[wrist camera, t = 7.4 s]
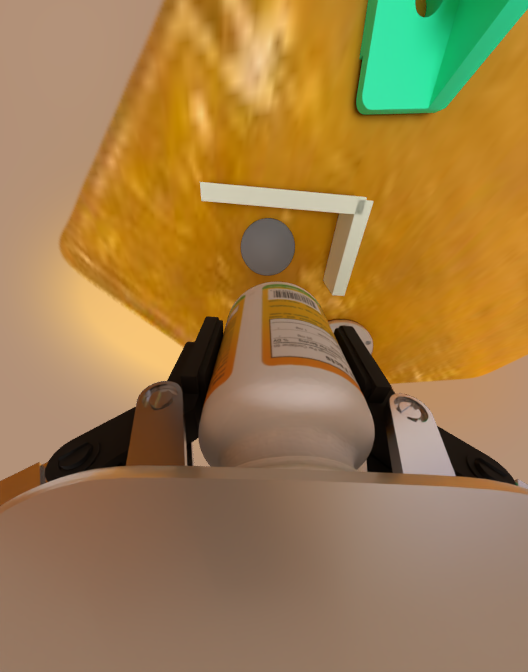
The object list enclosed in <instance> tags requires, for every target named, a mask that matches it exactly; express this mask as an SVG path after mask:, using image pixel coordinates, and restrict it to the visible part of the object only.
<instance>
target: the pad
mask: <svg viewBox="0 0 528 672" xmlns="http://www.w3.org/2000/svg"><path fill="white" fill-rule="evenodd" d="M294 251H295V243H294V238H293V235H292V233H291V231H290V230H289V228H288V227H287V226H286V225H285V224H284V223H282V222H280V221H278V220H276V219H271V218H265V219H260V220H258V221H256V222H254V223H252V224H251V225H250V226H249V227H248V228H247V230H246V231H245V233H244V235H243V238H242V241H241V253H242V257H243V259H244V261H245V263H246V265H247V266H248V267H249V268H250V269H251V270H252V271H254V272H256V273H258V274H261V275H274V274H277V273H279V272H281V271H283V270H284V269H285V268H286V267H287V266H288V265H289V264H290V262H291V260H292V258H293V255H294Z"/></svg>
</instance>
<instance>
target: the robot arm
mask: <svg viewBox="0 0 528 672" xmlns="http://www.w3.org/2000/svg"><path fill="white" fill-rule="evenodd" d="M328 323H329V325H330V327H331V330H332V332H333V334H334V336H335V338H336V340H337V342H338V344H339V346H340V348H341V350H342V352H343V354H344V356H345V359H346V361H347V363H348V365H349V367H350V369H351V371H352V373H353V375H354V377H355V379H356V381H357V383H358V385H359V387H360V390H361V392H362V394H363V396H364V398H365V400H366V403H367V405H368V407H369V410H370V412H371V415H372V418H373V422H374V429H375V437H374V442H373V447H372V450H371V452H370V454H369V456H368V457H367V459H366V460H365V462H364V463H363V464H362V465H361V466H360V467H359V468H358V469H357V470H358V471H359V472H354V471H326V470H298V469H270V468H238V467H203V466H194V458H193V444H192V442H193V441H194V440H196V439H197V438H198V432H199V423H200V419H201V415H202V410H203V406H204V402H205V398H206V395H207V391H208V387H209V384H210V380H211V377H212V374H213V370H214V366H215V363H216V359H217V356H218V352H219V349H220V346H221V342H222V338H223V321H222V320H219V318H218V317H206V318H205V320H204V323H203V325H202V327H201V329H200V332H199V334H198V336H197V338H196V341H195V342H187V343H186V344H185V346H184V348H183V351H182V352H181V354H180V356H179V358H178V360H177V362H176V364H175V367H174V368H173V370H172V372H171V374H170V376H169V379H168V380H167V381H161V382H157V383H154V384H152V385H150V386H148V387H147V388H146V389H144V390H143V391H142V392H141V394H140V395H139V397H138V399H137V404H136V407H134V408H132V409H130V410H128V411H126V412H125V413H123V414H121V415H119V416H117V417H115V418H113V419H111V420H109V421H107V422H106V423H103V424H102V425H100V426H98V427H96V428H94V429H92V430H90V431H89V432H86V433H84V434H83V435H81V436H79V437H77V438H75V439H73V440H71V441H70V442H68V443H66V444H65V445H63V446H62V447H61V448H60V449H59V450H58V451H57V452H55V453H54V455H53V456H52V457H51V459H50V460H49V461H48V462H47V463H45V464H43V465H42V464H41V463H40V462H38V463H36V464H34V465H32V466H30V467H28V468H26V469H24V470H22V471H20V472H18V473H16V474H14V475H12V476H10V477H8V478H5V479H3V480H1V481H0V672H528V485H527V484H526V483H524V482H522V481H520V480H519V479H517V480H515V481H514V479H513V478H512V476H511V475H510V474H509V473H508V472H507V471H506V469H505V468H503V467H502V466H501V465H500V464H499V463H498V462H496V461H495V460H493V459H492V458H490V457H489V456H487V455H486V454H484V453H482V452H481V451H479V450H477V449H475V448H474V447H472V446H470V445H469V444H467V443H465V442H464V441H462V440H460V439H458V438H457V437H455V436H453V435H452V434H450V433H448V432H446V431H445V430H443V429H442V428H440V427H438V426H437V425H436V422H435V420H434V417H433V415H432V413H431V411H430V410H429V409H428V407H427V406H426V405H425V404H423V403H422V402H421V401H420V400H418V399H416V398H414V397H412V396H410V395H407V394H402V393H399V394H396V393H395V392H394V390H393V389H392V387H391V385H390V384H389V382H388V381H387V379H386V377H385V376H384V374H383V373H382V371H381V370H380V368H379V367H378V365H377V363H376V362H375V360H374V359H373V357H372V356H371V354H372V351H373V341H372V338H371V336H370V334H369V333H368V331H367V330H366V329H365V328H364V327H363V326H362V325H360V324H358V323H356V322H353V321H350V320H333V321H328Z"/></svg>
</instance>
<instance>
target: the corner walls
mask: <svg viewBox="0 0 528 672" xmlns="http://www.w3.org/2000/svg"><path fill="white" fill-rule="evenodd" d="M200 188H201V201H209V202H221V203H232V204H243V205H255V206H266V207H277V208H288V209H300V210H311V211H322V212H334V213H339V216H338V220H337V224H336V229H335V233H334V237H333V241H332V245H331V249H330V254H329V258H328V262H327V266H326V270H325V274H324V279H323V281H324V283H325V284H326V286H327V288H328V289H329V291H330V292H331V294H332V295H339V296H344V295H345V291H346V288H347V285H348V282H349V279H350V275H351V272H352V269H353V266H354V263H355V259H356V256H357V253H358V250H359V246H360V243H361V240H362V237H363V234H364V230H365V227H366V224H367V221H368V218H369V214H370V211H371V208H372V205H373V201H369V200H366V199H367V197H358V196H348V195H337V194H326V193H315V192H304V191H294V190H283V189H272V188H261V187H250V186H239V185H229V184H218V183H207V182H200Z"/></svg>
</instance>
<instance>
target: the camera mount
mask: <svg viewBox="0 0 528 672" xmlns="http://www.w3.org/2000/svg"><path fill="white" fill-rule="evenodd" d="M527 9H528V0H426V14H425V17H421V16H420V15H419V14H418V13H417V11H416V6H415V0H368V5H367V12H366V19H365V25H364V32H363V39H362V45H361V52H360V58H359V59H362V66H361V72H360V79H359V85H358V91H357V98H356V106H357V109H358V111H359V112H360V113H361V114H364V115H368V114H409V113H435V112H437V111H440V110H442V109H444V108H446V107H447V106H448V104H449V103H450V102H451V101H452V100H453V98H454V97H455V96H456V95H457V93H458V92H459V91H460V90H461V89H462V87H463V86H464V85H465V84H466V83H467V81H468V80H469V79H470V78H471V77H472V75H473V74H474V73H475V72H476V71H477V69H478V68H479V67H480V66H481V64H482V63H483V62H484V61H485V60H486V58H487V57H488V56H489V55H490V54H491V52H492V51H493V50H494V49H495V48H496V46H497V45H498V44H499V43H500V42H501V40H502V39H503V38H504V37H505V35H506V34H507V33H508V32H509V31H510V29H511V28H512V27H513V26H514V25H515V23H516V22H517V21H518V20H519V19H520V17H521V16H522V15H523V14H524V13H525V11H526V10H527Z"/></svg>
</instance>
